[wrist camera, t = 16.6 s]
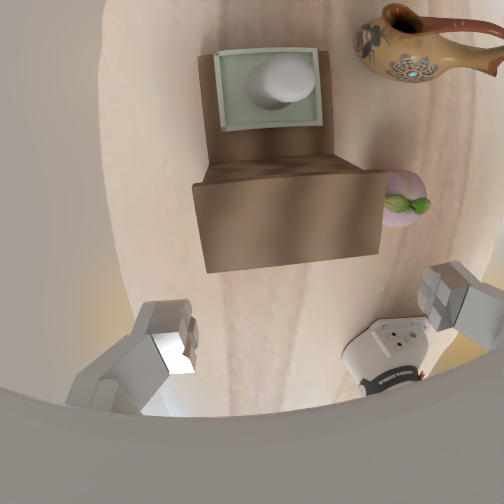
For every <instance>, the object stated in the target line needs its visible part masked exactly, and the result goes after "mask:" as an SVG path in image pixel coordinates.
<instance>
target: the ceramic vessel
mask: <svg viewBox="0 0 504 504" xmlns="http://www.w3.org/2000/svg"><path fill="white" fill-rule="evenodd" d="M460 31H466V32H480V33H486V34H491V35H494V36H497V37H499V38H502V39H504V28H502V27H500V26H498V25H496V24H493V23H490V22H486V21H480V20H469V19H451V18H435V17H421V16H418V15H417V14H415V13H414V12H413V11H412V10H411V9H409V8H408V7H406V6H404V5H401V4H396V3H393V4H389V5H387V6H386V7H384V9H383V11H382V17H378V18H375V19H372V20H370V21H368V22H367V23H365V24H364V25H363V26H362V27H361V28H360V29H359V30H358V32H357V33H356V36H355V40H354V47H355V51H356V53H357V55H358V57H359V58H360V60H361V61H362V62H363V63H364V64H365V65H366V66H367V67H368V68H369V69H371V70H372V71H374V72H375V73H377V74H379V75H381V76H383V77H385V78H388V79H391V80H395V81H399V82H405V83H421V82H427V81H430V80H433V79H435V78H437V77H439V76H440V75H442V74H443V73H444V72H446V71H447V70H449V69H451V68H456V67H466V68H471V69H475V70H478V71H481V72H484V73H486V74H488V75H490V76H493V77H496V75H497V67H498V66H499V65H500V63H501V62H503V61H504V46H499V47H495V48H489V49H484V48H478V47H472V46H467V45H463V44H459V43H456V42H453V41H450V40H448V39H446V38H444V37H442V36H440V35H439V34H438V33H445V32H460Z"/></svg>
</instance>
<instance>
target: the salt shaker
mask: <svg viewBox="0 0 504 504" xmlns="http://www.w3.org/2000/svg"><path fill="white" fill-rule="evenodd" d="M315 82H316V74H315V71H314V68H313V66H312V65H311V64H310V63H309V61H308V60H307V59H306V58H305V57H302V56H300V55H297V54H295V53H280V54H278V55H276V56H274V57H272V58H270V59H269V60H268V61H267V62H264V63H262V64H260V65H258V66H256V67H255V68H253V70H252V71H251V72H250V73H249V75H248V76H247V81H246V90H247V93H248V96H249V98H250V99H251V100H252V101H253V102H254V103H255V104H256V105H257V106H258V107H261V108H264V109H266V110H280V109H282V108H284V107H286V106H288V105H290V104H291V103H292V102H298V101H300V100H302V99H304V98H306V97H307V96H308V95H309V94H310V93H311V91H312V90H313V88H314V87H315Z"/></svg>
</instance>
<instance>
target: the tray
mask: <svg viewBox="0 0 504 504" xmlns="http://www.w3.org/2000/svg"><path fill="white" fill-rule="evenodd" d="M280 53H295V54H297V55H300V56H302V57H305V58H306V59H307V60H308V61H309V63H310V64H311V65H312V66H313V68H314V71H315V74H316V82H315V87H314V88H313V90H312V91H311V93H310V94H309V95H308V96H307V97H306V98H304V99H302V100H300V101H298V102H292V103H291V104H290V105H288V106H286V107H284V108H282V109H280V110H266V109H264V108H261V107H258V106H257V105H256V104H255V103H254V102H253V101H252V100H251V99H250V98H249V96H248V93H247V90H246V81H247V76H248V75H249V73H250V72H251V71H252V70H253V68H255V67H256V66H258V65H260V64H262V63H264V62H267V61H268V60H269V59H270V58H272V57H274V56H276V55H278V54H280ZM213 54H214V65H215V75H216V85H217V95H218V105H219V114H220V123H221V132H227V131H236V130H247V129H258V128H273V127H292V126H323V121H322V102H321V87H320V74H319V63H318V52H317V48H304V47H269V48H248V49H235V50H225V51H216V52H213Z"/></svg>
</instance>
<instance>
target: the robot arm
mask: <svg viewBox="0 0 504 504" xmlns="http://www.w3.org/2000/svg"><path fill="white" fill-rule="evenodd" d="M421 278H422V280H423V283H422V284H421V285H420V286H419V288H418V293H417V300H418V305H419V307H420V309H421V310H422V312H424V313H426V314H428V315H429V317H428V319H427V317H411V318H396V319H379V320H377V321H375V322H374V323H373V324H372V325H371V326H370V328H369V329H368V330H367V331H365V332H364V333H362V334H361V335H359V336H358V337H356V338H355V339H354V340H353V341H352V342H351V343H350V344H349V345H348V346H347V347H346V349H345V351H344V353H343V355H342V362H343V364H344V366H345V367H346V368H347V369H348V370H349V371H350V373H351V374H352V376H353V377H354V379H355V381H356V383H357V384H358V386H359V393H360V396H361V398H357V399H353V400H348V401H344V402H339V403H334V404H329V405H323V406H318V407H312V408H306V409H299V410H292V411H285V412H277V413H267V414H257V415H244V416H227V417H163V416H146V415H142V413H141V412H140V410H142V408H143V407H144V406H145V405H146V403H147V402H148V401H149V400H150V398H151V397H152V396H153V395H154V394H155V392H156V391H157V390H158V389H159V388H160V386H161V385H162V384H163V383H164V381H165V380H166V379H167V378H168V376H169V375H170V373H191V372H195V365H196V358H197V356H196V354H195V351H194V350H195V349H196V348H197V347H198V342H199V333H198V327H197V323H196V319H194V318H193V317H192V316H191V313H192V307H191V304H190V301H189V300H188V299H180V300H164V301H150V302H145V303H143V304H142V307H141V309H140V312H139V314H138V317H137V319H136V321H135V324H134V327H133V329H132V332H131V334H130V335H126V336H124V337H123V338H122V339H121V340H119V341H118V342H117V343H116V344H114V345H113V346H112V347H111V348H109V349H108V350H107V351H106V352H104V354H102V355H101V356H99V357H98V358H97V359H96V360H94V361H93V362H92V363H91V364H89V365H88V366H87V367H86V368H85V369H84V370H82V371H81V372H80V373H78V374H77V375H76V377H75V380H74V382H73V384H72V387H71V389H70V392H69V394H68V396H67V399H66V402H65V404H61V403H56V402H52V401H48V400H44V399H40V398H36V397H32V396H28V395H25V394H21V393H18V392H15V391H12V390H8V389H5V388H2V387H0V504H504V291H503V290H501V289H498V288H496V287H494V286H491V285H489V284H486V283H481V282H480V281H479V280H478V279H477V278H476V277H475V276H474V275H473V274H472V273H470V272H469V271H468V270H467V269H466V268H465V267H464V266H463V265H462V264H461V263H460V262H459V261H456V260H455V261H451V262H447V263H444V264H439V265H434V266H429V267H425V268H424V270H423V272H422V276H421ZM428 320H429V322H430V323H431V325H432V326H433V328H434V329H435V331H436V332H438V331H442V330H445V329H449V328H452V327H454V329H456V330H457V331H459V332H460V333H462V334H463V335H465V336H466V337H468V338H469V339H470V340H472V341H473V342H475V343H476V344H478V345H479V346H481V347H482V348H484V349H485V350H486V351H488V352H487V353H485V354H483V355H481V356H479V357H477V358H475V359H473V360H470V361H468V362H466V363H464V364H461V365H459V366H456V367H454V368H452V369H449V370H447V371H444V372H442V373H439V374H436V375H434V376H431V377H428V378H425V379H423V377H424V375H425V374H423V371H422V372H421V374H420V376H419V375H418V369H419V368H420V366H421V364H422V362H423V360H424V358H425V356H426V353H427V350H428V340H427V337H426V335H427V332H428V327H429V322H428ZM422 375H423V376H422ZM422 379H423V380H422Z"/></svg>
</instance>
